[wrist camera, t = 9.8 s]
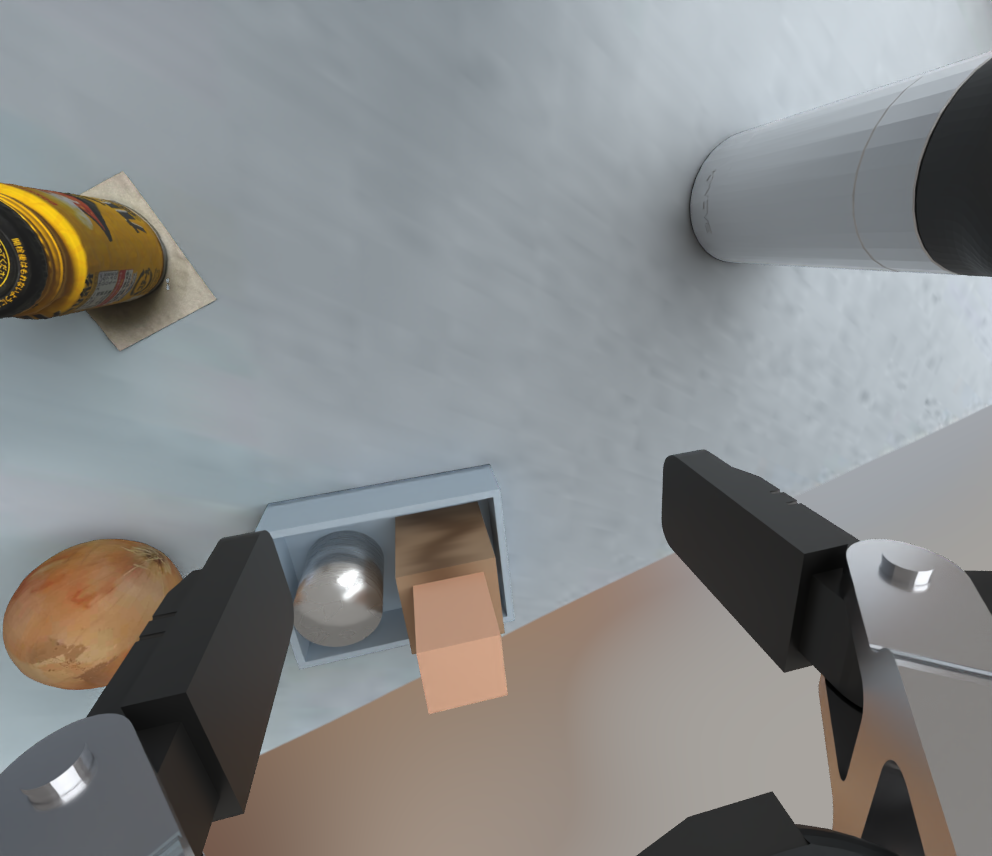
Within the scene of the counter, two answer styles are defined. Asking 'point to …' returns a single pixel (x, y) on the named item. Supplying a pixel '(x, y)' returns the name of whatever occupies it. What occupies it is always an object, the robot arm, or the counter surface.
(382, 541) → the tote
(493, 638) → the peach rectangular block
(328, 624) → the grey tin
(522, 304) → the counter surface
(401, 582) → the walnut block
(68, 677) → the onion
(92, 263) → the condiment
